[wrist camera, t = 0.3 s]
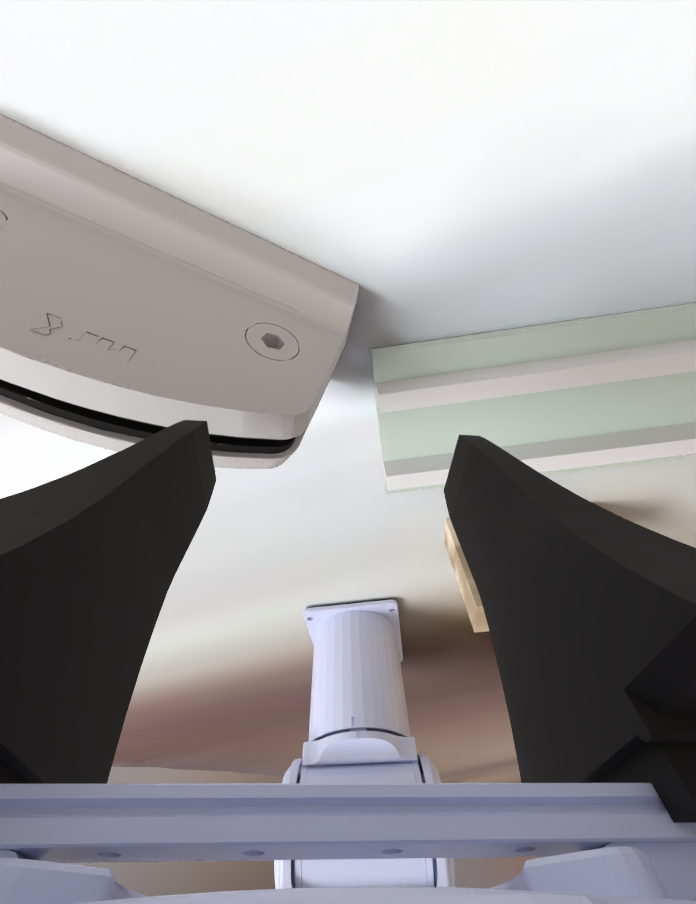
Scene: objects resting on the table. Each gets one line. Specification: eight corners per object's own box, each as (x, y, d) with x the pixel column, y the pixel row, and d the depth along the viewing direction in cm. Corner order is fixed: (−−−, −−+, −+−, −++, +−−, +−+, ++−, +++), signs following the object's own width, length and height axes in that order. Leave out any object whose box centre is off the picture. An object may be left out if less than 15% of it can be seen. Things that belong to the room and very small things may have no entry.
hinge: (367, 288, 17) (341, 448, 11) (332, 361, 21) (298, 513, 14) (-41, 95, 13) (-449, 168, 7) (3, 225, 17) (-242, 351, 10)
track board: (669, 449, 22) (704, 473, 20) (384, 484, 23) (389, 509, 21) (733, 297, 18) (786, 307, 16) (370, 349, 19) (374, 365, 17)
